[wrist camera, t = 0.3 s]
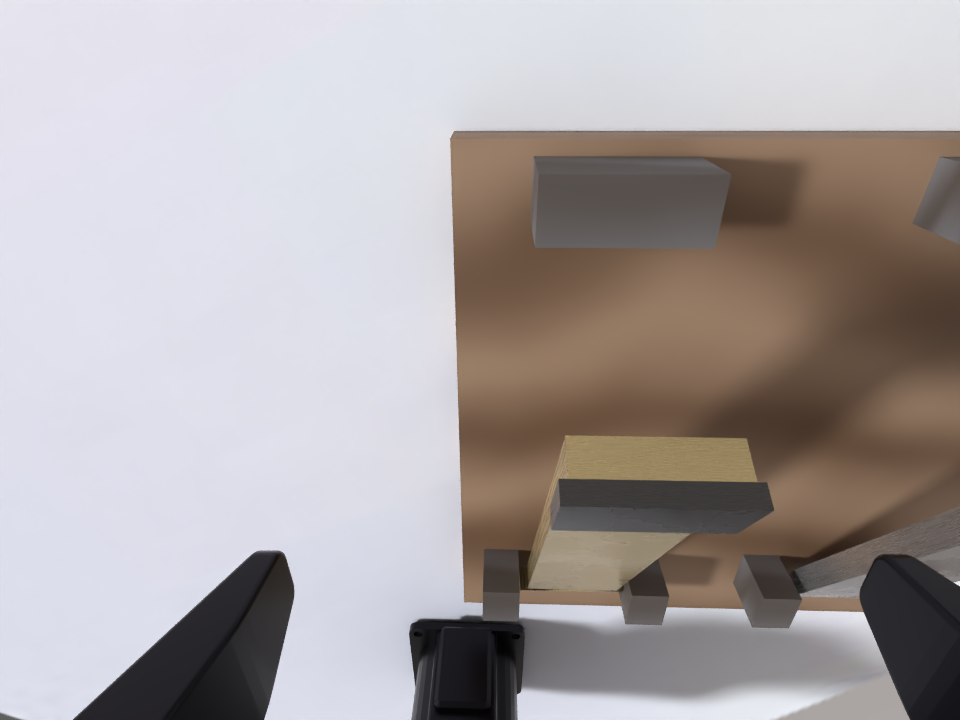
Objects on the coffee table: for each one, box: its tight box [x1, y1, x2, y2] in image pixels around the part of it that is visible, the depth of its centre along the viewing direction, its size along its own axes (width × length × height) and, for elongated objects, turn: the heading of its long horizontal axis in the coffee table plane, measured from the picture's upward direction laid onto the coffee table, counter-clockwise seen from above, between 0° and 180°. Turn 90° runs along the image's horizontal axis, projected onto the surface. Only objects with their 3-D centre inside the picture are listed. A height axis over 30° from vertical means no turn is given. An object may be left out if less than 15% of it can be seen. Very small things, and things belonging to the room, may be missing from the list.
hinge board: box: [450, 131, 960, 628], centre depth 21 cm, size 22×22×4 cm
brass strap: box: [520, 435, 774, 592], centre depth 18 cm, size 16×5×2 cm, turn 178°
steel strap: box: [788, 506, 960, 598], centre depth 18 cm, size 16×5×2 cm, turn 179°
